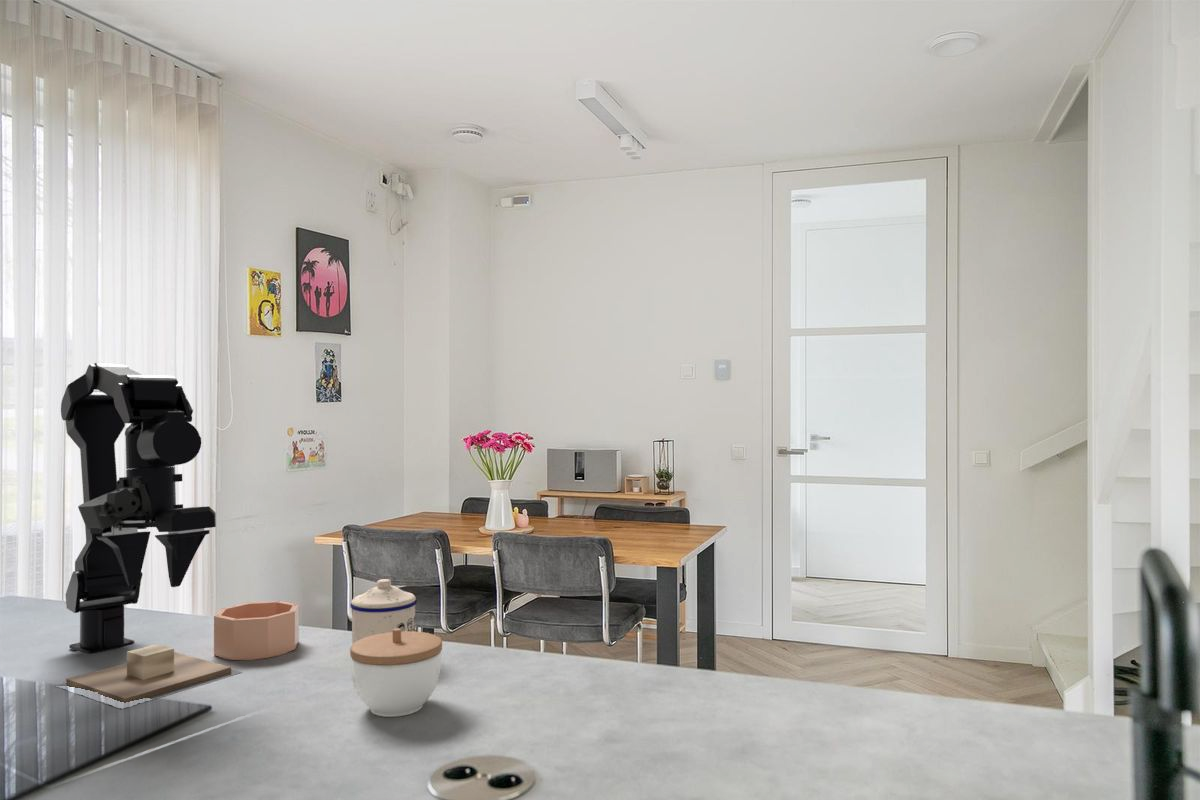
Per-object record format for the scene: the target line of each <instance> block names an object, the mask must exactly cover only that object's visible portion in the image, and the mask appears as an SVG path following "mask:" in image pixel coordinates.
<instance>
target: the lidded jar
mask: <svg viewBox="0 0 1200 800" xmlns="http://www.w3.org/2000/svg"><path fill="white" fill-rule="evenodd" d="M442 650H443V640H442V638H441V637H439V636H438V635H437V634H436V635H435V634H434V633H429V632H422V631H416V630H415V631H401V629H400V628H396V629H393V630H392V632H388V633H382V634H376V635H372V636H368V637H365V638H362V639H360V640H358V641H356V642H355V643H353V644H352V643H351V646H350V648H349V653H350V655H349V656H350V663H351V664H350V665H351V666H350V667H351V677H352V683H353V687H354V689H355V693H356V695H357V696H358V698H359V700H360V701H361V702H362V703H363V705H365V706H366V707H367V708H369V709H370V713H371V714H372V715H375V716H378V717H383V718H397V717H405V716H410V715H412V714H416V713H418V712H419V711H421V709H422V708H423V706H424V704H425V703H426V702H427V701H428V700H429V698H431V696H432V695H433V693H434V691H435V690H436V688H437V685H438V682H439V678H440V674H441V667H442Z"/></svg>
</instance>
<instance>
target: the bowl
mask: <svg viewBox="0 0 1200 800" xmlns="http://www.w3.org/2000/svg"><path fill="white" fill-rule="evenodd" d="M299 606H300V605H299V604H298V603H292V602H288V601H287V602H286V601H281V600H276V601H275V600H273V601H254V602H246V603H240V604H238V605H232V606H228V607H223V608H220V609H219V611H218V612H217V613H215V615H214V616H213V655H214V656H217V657H219V658H221V659H224V660H229V661H253V660H255V661H256V660H260V659H262V660H263V659H269V658H274V657H277V656H282V655H284V654H287V653H289V652H291V651H295V649H296V648H297V646H298V643H299V641H300V640H299V639H300V637H299V636H300V632H299V631H300V628H299V627H300V623H299V622H300V620H299V619H300V618H299V617H300V613H299V612H300V611H299V610H300V607H299Z"/></svg>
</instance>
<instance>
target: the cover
mask: <svg viewBox="0 0 1200 800" xmlns="http://www.w3.org/2000/svg"><path fill="white" fill-rule="evenodd" d="M231 669H232V666H228V665H225V664H221V663H217V662H213V661H210V660H206V659H201V658H199V657H194V656H192V655H191V656H190V655H187V654H184V653H183V654H182V653H179V652H176V651H175V648H173V647H170V646H166V645H163V644H162V645H161V644H158V643H156V644H153V645H148V646H144V647H141V648H136V649H132V650H129V651H126V662H125V663H122V664H118V665H115V666H111V667H106V668H104V669H99V670H95V671H91V672H88V673H84V674H79V675H76V676H72V677H71V676H70V677H68V678H66V680H65V683H66V685H68V686H70V687H75V688H81V689H85V690H90V691H93V692H98V694H100V695H103V696H105V697H109V698H112V699H114V700H117V701H120V702H124V703H126V702H130V701H134V700H139V699H143V698H151V697H154V696H157V695H161V694H164V693H167V692H170V691H174V690H177V689H180V688H184V687H187V686H190V685H194V684H197V683H200V682H203V681H207V680H210V679H213V678H217V677H220V676H223V675H227V674H230V673H231Z"/></svg>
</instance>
